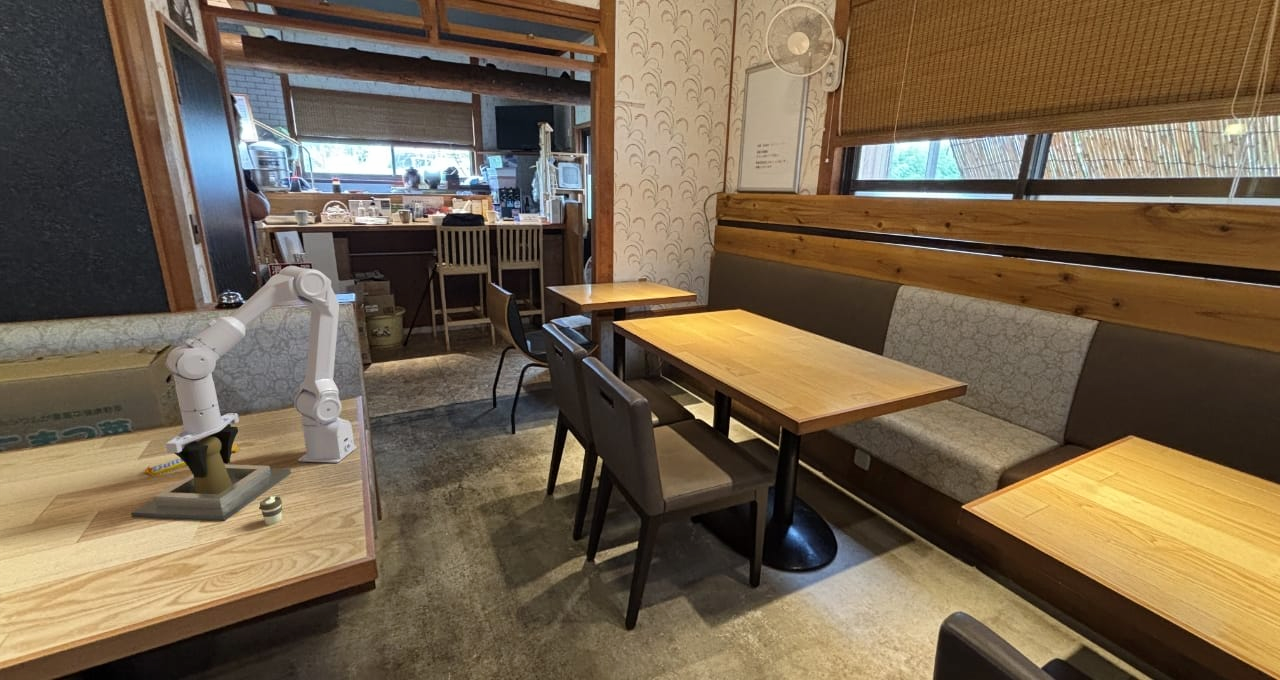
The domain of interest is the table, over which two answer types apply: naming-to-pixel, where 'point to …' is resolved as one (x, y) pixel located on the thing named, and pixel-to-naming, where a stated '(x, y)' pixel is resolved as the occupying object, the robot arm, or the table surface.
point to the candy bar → (173, 465)
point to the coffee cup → (271, 510)
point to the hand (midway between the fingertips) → (212, 469)
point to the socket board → (212, 495)
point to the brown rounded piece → (212, 470)
